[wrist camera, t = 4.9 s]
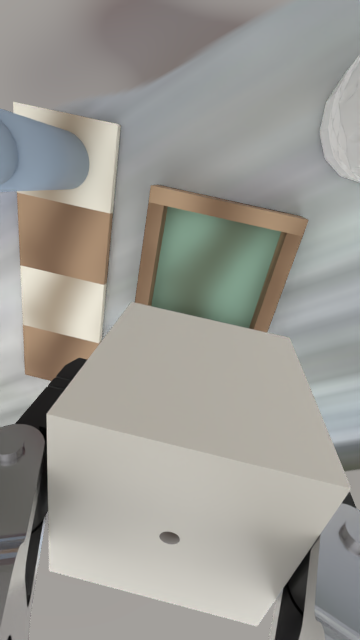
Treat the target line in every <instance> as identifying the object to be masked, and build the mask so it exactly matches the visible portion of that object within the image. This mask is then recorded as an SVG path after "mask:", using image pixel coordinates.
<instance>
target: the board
mask: <svg viewBox="0 0 360 640" xmlns="http://www.w3.org/2000/svg"><path fill="white" fill-rule="evenodd" d="M13 108H14V113H15V114H18V115H21V116H24V117H27V118H30V119H33V120H36V121H39V122H42V123H45V124H48V125H51V126H54V127H57V128H60V129H64V130H67V131H69V132H71V133H73V134H75V135H76V136H77V137H78V138H79V139H80V140H81V141H82V143H83V144H84V146H85V148H86V150H87V153H88V157H89V172H88V175H87V177H86V179H85V181H84V182H83V183H82V184H81V185H80V186H78V187H77V188H74V189H67V190H38V191H17V201H18V223H19V246H20V269H21V291H22V314H23V336H24V359H25V374H26V375H30V376H34V377H38V378H42V379H46V380H50V381H52V380H53V379H54V378H56V375H57V374H58V373H59V372H60V371H61V370H62V368H63V367H64V366H65V365H66V364H68V363H70V362H72V361H74V360H76V359H77V358H83V359H87V360H88V358H89V357H90V356H91V354H92V353H93V352H94V350H95V349H96V348H97V347H98V345H99V344H100V343H101V340H102V329H103V318H104V307H105V296H106V285H107V274H108V262H109V251H110V240H111V229H112V218H113V207H114V196H115V184H116V173H117V162H118V151H119V140H120V129H121V125H119V124H115V123H110V122H106V121H101V120H96V119H92V118H87V117H82V116H78V115H73V114H68V113H63V112H59V111H54V110H49V109H45V108H40V107H35V106H31V105H26V104H21V103H16V102H13Z"/></svg>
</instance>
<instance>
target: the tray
mask: <svg viewBox="0 0 360 640" xmlns="http://www.w3.org/2000/svg"><path fill="white" fill-rule="evenodd" d="M307 223H308V220H307V219H305V218H303V217H301V216H298V215H293V214H288V213H284V212H279V211H275V210H270V209H266V208H261V207H257V206H252V205H248V204H243V203H238V202H234V201H229V200H225V199H220V198H216V197H211V196H207V195H202V194H198V193H193V192H188V191H184V190H179V189H175V188H170V187H166V186H161V185H151V188H150V196H149V203H148V210H147V217H146V225H145V232H144V239H143V246H142V254H141V261H140V268H139V275H138V283H137V290H136V297H135V303H139V304H143V305H148V306H152V307H157V308H161V309H165V310H170V311H174V312H179V313H183V314H187V315H192V316H196V317H201V318H205V319H209V320H214V321H218V322H222V323H227V324H231V325H236V326H240V327H244V328H249V329H253V330H258V331H262V332H266V333H267V331H268V329H269V326H270V323H271V321H272V318H273V315H274V312H275V310H276V307H277V304H278V302H279V299H280V296H281V293H282V291H283V288H284V285H285V283H286V280H287V277H288V275H289V272H290V269H291V266H292V264H293V261H294V258H295V256H296V253H297V250H298V248H299V245H300V242H301V239H302V237H303V234H304V231H305V229H306V226H307Z"/></svg>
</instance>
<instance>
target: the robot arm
mask: <svg viewBox="0 0 360 640" xmlns="http://www.w3.org/2000/svg"><path fill="white" fill-rule="evenodd" d="M86 361H87V359H83V358H77V359H76V360H74V361H72V362H70V363H68V364H66V365H65V366H64V367H63V368H62V370H61V371H60V372H59V373H58V374H57V375H56V378H54V379H53V380H52V381H51V382H50V384H49V385H48V387H46V388H45V389H44V391H43V392H42V393H41V394H40V395H39V396H38V398H37V399H36V400H35V401H34V402H33V404H32V405H31V406H30V407H29V408H28V409H27V411H26V412H25V413H24V414H23V415H22V416H21V418H20V419H19V420H18V421H17V422H16V423H15V424H12V425H7V426H3V427H0V640H29V628H30V617H31V609H32V603H33V595H34V589H35V584H36V577H37V571H38V565H39V559H40V553H41V546H42V540H43V534H44V527H45V521H46V513H47V512H48V476H47V415H46V414H47V413H48V411H49V410H50V409H51V407H52V406H53V405H54V403H55V402H56V401H57V399H58V398H59V397H60V395H61V394H62V393H63V391H64V390H65V389H66V387H67V386H68V385H69V384H70V382H71V381H72V380H73V378H74V377H75V376H76V374H77V373H78V372H79V370H80V369H81V368H82V366H83V365H84V364H85V362H86ZM269 640H360V510H358V509H356V506H355V504H354V501H353V499H352V496H351V494H350V491H349V493H348V494H347V496H346V497H345V499H344V500H343V502H342V503H341V505H340V506H339V507H338V509H337V510H336V512H335V513H334V515H333V516H332V518H331V519H330V521H329V522H328V524H327V525H326V526H325V528H324V529H323V531H322V532H321V534H320V535H319V537H318V538H317V540H316V541H315V543H314V544H313V545H312V547H311V548H310V550H309V551H308V553H307V554H306V556H305V557H304V559H303V560H302V562H301V563H300V564H299V566H298V567H297V569H296V570H295V572H294V573H293V575H292V576H291V578H290V579H289V581H288V582H287V583H286V585H285V586H284V588H283V589H282V591H281V592H280V594H279V595H278V597H277V598H276V603H275V607H274V613H273V618H272V624H271V629H270V635H269Z"/></svg>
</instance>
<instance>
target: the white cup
mask: <svg viewBox="0 0 360 640" xmlns="http://www.w3.org/2000/svg"><path fill="white" fill-rule="evenodd" d="M319 134H320V138H321V143H322V148H323V153H324V158H325V160H326V161H327V162H328V163H329V164H330V165H331V166H332V168H333V169H334V170H335V171H336V172H337V173H338V175H339V176H340V177H343V178H347V179H350V180H353V181H356V182H359V183H360V55H359V56H358V57H357V59H356V60H355V61H354V63H353V64H352V65H351V67H350V68H349V69H348V70H347V71H346V72H345V73H344V75H343V76H342V78H341V79H340V81H339V83H338V84H337V86H336V87H335V89H334V90H333V92H332V94H331V95H330V97H329V98H328V100H327V101H326V104H325V109H324V113H323V118H322V122H321V127H320V132H319Z"/></svg>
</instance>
